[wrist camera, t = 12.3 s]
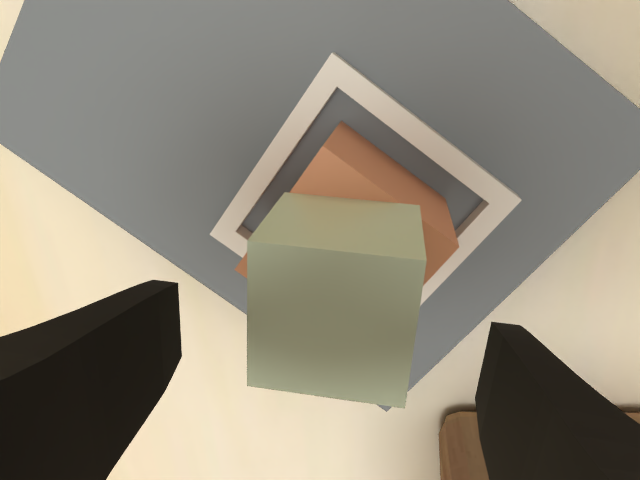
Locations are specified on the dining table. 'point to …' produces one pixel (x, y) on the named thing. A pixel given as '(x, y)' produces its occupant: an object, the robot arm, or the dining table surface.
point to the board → (318, 127)
